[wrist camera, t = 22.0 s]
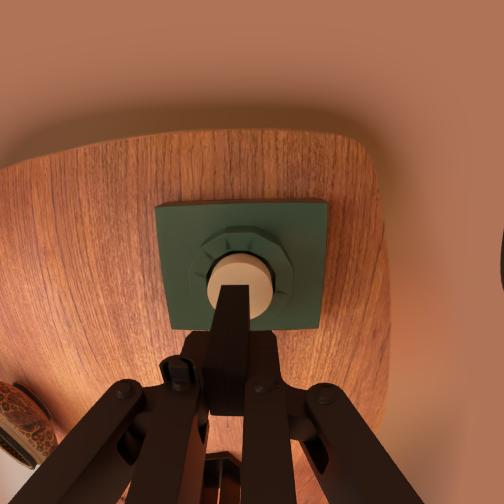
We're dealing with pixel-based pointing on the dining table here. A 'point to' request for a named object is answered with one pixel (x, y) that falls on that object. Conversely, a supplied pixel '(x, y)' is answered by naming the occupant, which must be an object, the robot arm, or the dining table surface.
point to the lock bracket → (221, 479)
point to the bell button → (243, 280)
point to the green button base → (248, 242)
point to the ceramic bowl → (25, 425)
